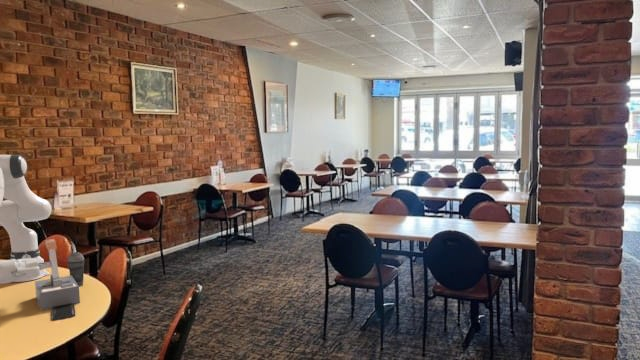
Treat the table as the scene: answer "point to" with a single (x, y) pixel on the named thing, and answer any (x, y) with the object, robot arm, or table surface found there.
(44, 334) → the table surface
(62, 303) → the switch box
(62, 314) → the phone
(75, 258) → the beverage cup
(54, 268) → the lever
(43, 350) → the table surface
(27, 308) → the table surface
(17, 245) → the robot arm
